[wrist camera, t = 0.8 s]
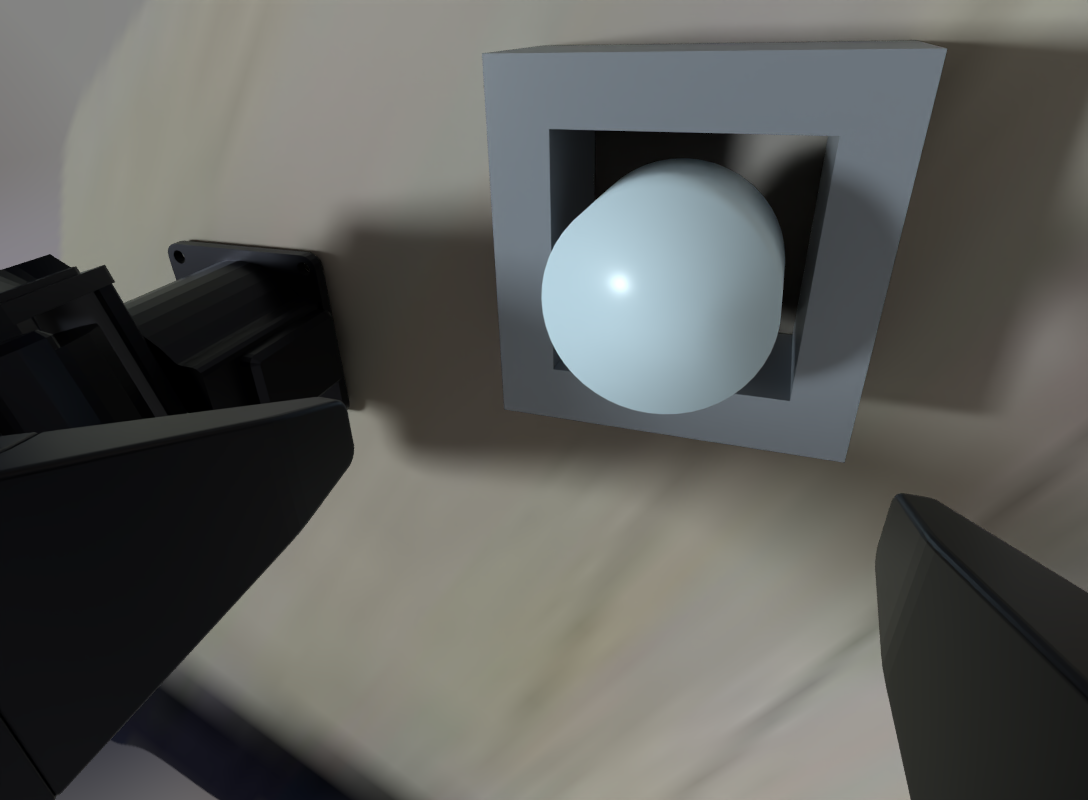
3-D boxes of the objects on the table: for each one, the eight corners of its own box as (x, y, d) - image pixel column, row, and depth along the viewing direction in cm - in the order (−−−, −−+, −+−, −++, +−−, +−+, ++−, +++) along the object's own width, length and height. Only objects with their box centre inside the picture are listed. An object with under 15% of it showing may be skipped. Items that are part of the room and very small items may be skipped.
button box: (548, 350, 22) (504, 409, 19) (541, 45, 18) (482, 53, 14) (837, 387, 20) (844, 463, 16) (916, 40, 15) (947, 48, 12)
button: (580, 343, 18) (544, 397, 15) (580, 154, 15) (538, 181, 13) (768, 366, 16) (762, 430, 14) (802, 162, 14) (802, 194, 11)
